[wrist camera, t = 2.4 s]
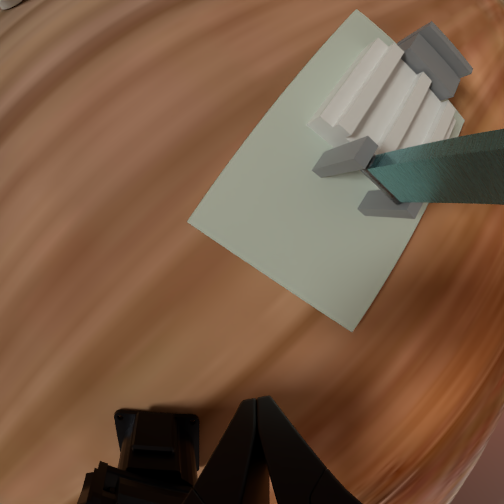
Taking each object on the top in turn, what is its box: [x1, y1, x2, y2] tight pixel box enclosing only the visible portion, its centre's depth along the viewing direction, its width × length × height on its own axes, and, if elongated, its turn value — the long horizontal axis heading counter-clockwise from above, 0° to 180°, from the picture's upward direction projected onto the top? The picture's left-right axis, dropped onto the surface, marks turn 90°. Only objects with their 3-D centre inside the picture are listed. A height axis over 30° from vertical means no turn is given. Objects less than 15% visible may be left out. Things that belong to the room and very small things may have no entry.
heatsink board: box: [187, 9, 473, 332], centre depth 18 cm, size 22×14×6 cm, turn 145°
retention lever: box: [360, 129, 504, 205], centre depth 10 cm, size 2×4×14 cm, turn 55°
